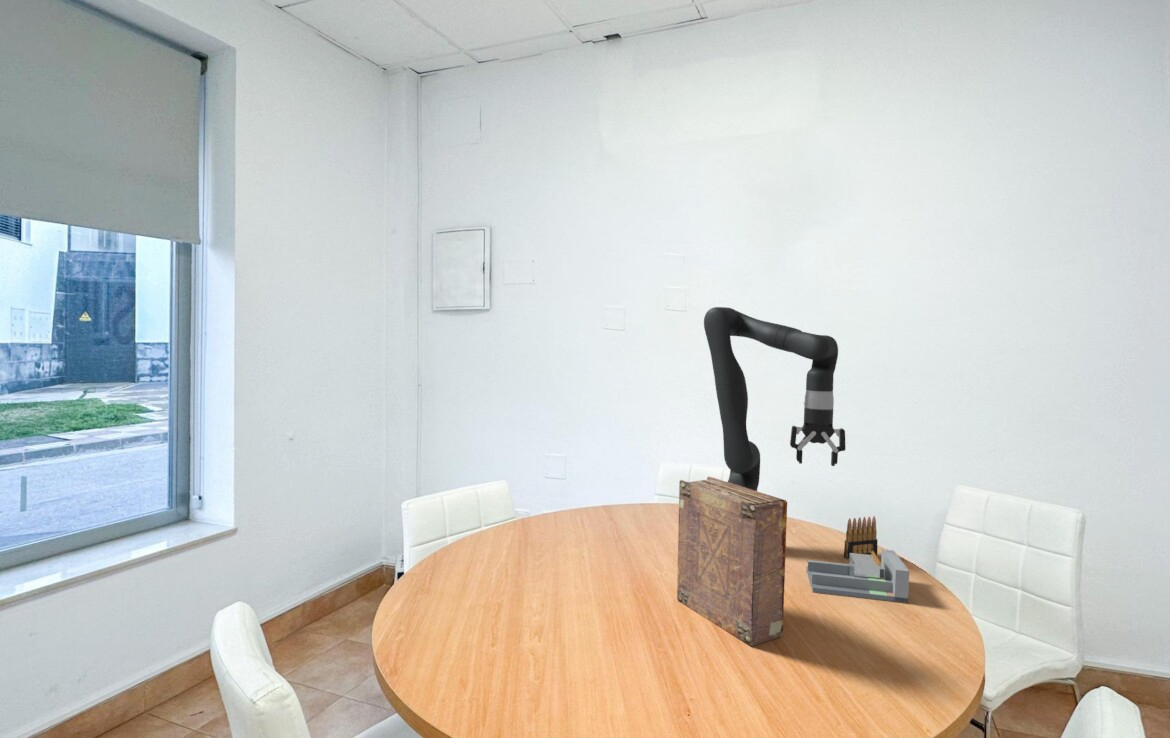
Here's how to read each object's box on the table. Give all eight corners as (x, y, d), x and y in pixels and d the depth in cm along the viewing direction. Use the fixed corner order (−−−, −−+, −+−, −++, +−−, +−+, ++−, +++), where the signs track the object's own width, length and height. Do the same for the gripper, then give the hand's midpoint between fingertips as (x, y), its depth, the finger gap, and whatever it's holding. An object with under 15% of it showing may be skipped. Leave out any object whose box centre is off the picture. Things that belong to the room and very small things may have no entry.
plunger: (854, 586, 149) (855, 560, 149) (848, 573, 157) (849, 549, 157) (879, 589, 148) (880, 562, 147) (872, 576, 156) (873, 551, 155)
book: (676, 600, 143) (678, 479, 142) (705, 592, 148) (708, 475, 146) (751, 647, 121) (755, 505, 120) (783, 637, 126) (787, 500, 124)
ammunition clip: (873, 553, 177) (874, 515, 177) (877, 556, 175) (879, 516, 175) (843, 557, 174) (844, 517, 174) (847, 559, 172) (849, 519, 172)
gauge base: (812, 592, 149) (813, 561, 148) (806, 570, 163) (807, 542, 163) (908, 603, 143) (909, 571, 143) (892, 579, 158) (893, 550, 157)
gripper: (792, 406, 160) (790, 465, 161) (848, 409, 157) (846, 469, 157) (790, 404, 168) (788, 459, 168) (844, 406, 164) (841, 463, 165)
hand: (816, 464), depth 163 cm, fingers open, 8 cm apart
